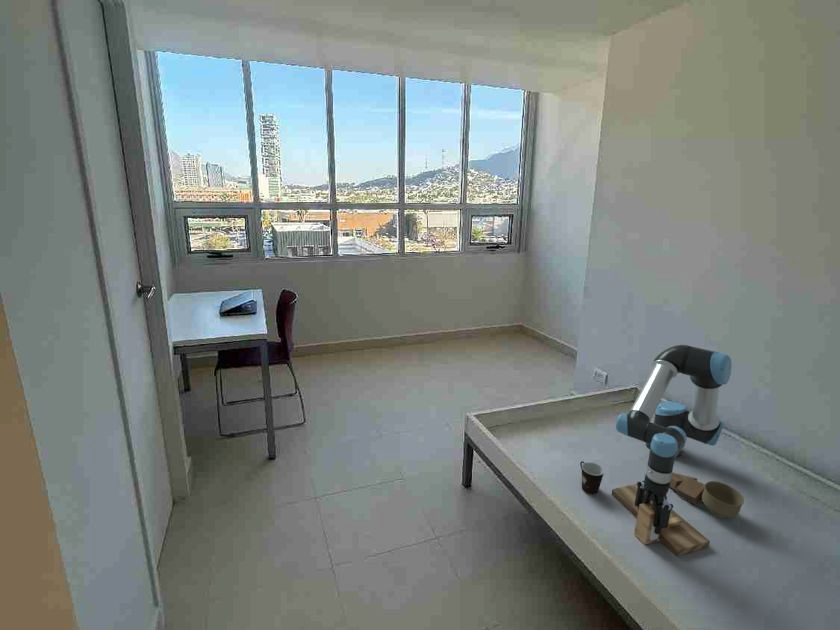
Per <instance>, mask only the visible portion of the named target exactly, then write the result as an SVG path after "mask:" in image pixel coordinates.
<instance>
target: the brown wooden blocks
mask: <svg viewBox="0 0 840 630" xmlns="http://www.w3.org/2000/svg"><path fill="white" fill-rule="evenodd" d="M705 484H706V483H705ZM705 484H704V483H702V482H700V481H699V480H698V478H697V477H693V476H689V475H684V474H680V473H677V472H673V471H672V476H671V481H670V486H669V488H671V489H673V490H675V491H676V494H677V495H678V496H679V497H681V498H683V499H684V500H686V501H688V502H689V503H692V504H694V505H696V506H698V505H699V504H700V503H701V502H702V501H703V500H702V494H703V491H704V489H705Z"/></svg>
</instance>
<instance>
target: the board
mask: <svg viewBox="0 0 840 630" xmlns="http://www.w3.org/2000/svg"><path fill="white" fill-rule="evenodd" d="M637 489H638V486H637V483H633V484H629V485H625V486H620V487H616V488H612V489H611V496H612V497H613V498H615V499H616V500H617V501H618V502H619V504H621V505H622V506H623V507H624V508H625V509H626V510H627V511H628V512H629V513H631V514H632V515H633V516H634V517H635V518H636V519H637V516H638V507H636V506H635V499H636V494H637ZM645 492H646V491H645ZM644 495H645V494H644ZM650 502H651V501H650ZM663 505H664V503H663ZM662 509H663V507H662ZM674 517H679V518H680V519H681V520H682V524H679V525H676V526H672V527H668V528H665V529H661V532H660V535H659V540H658V541H660V542H661V543H662V544H664V546H665V547H667V548H668V549H669V551H671V552H672V553H673V554H674V555H675V556H676V557H679V556H683V555H686V554H689V553H693V552H696V551H699V550H700V551H701V550H703V549H706V548H709V546H710V543H711V540H709V538H707V537H706V536H705V535H703V534H702V533H701V532H700V531H699V530H697V529H696V528H695V527H694V526H693V525H691V524H690V523H689V522H688V521H687V520H685V519H684V518H682V517H683V516H682V517H681V516H680V515H679V514H678V513H677V512H676V511H675V510H673V508H672V509H671V512H670V518H669V519H671V518H674Z"/></svg>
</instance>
